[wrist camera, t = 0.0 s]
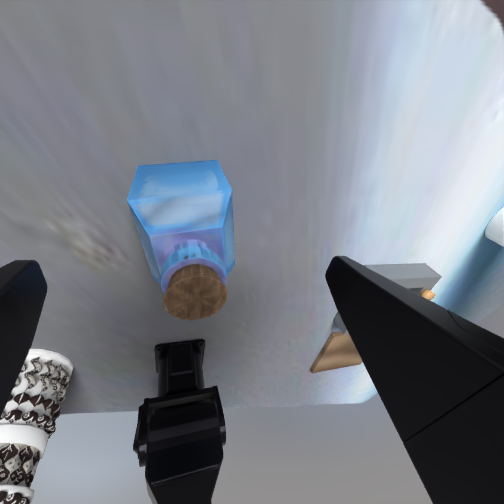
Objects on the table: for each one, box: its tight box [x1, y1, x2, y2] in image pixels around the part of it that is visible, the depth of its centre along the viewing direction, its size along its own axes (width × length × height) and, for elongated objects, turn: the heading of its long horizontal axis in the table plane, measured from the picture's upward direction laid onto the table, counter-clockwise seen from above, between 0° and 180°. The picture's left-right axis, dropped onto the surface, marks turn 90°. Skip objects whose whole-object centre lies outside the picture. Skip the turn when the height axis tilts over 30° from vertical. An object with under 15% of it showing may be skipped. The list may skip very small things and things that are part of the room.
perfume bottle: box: [127, 160, 235, 320], centre depth 17 cm, size 6×6×12 cm
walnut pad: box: [310, 332, 362, 373], centre depth 48 cm, size 12×12×1 cm
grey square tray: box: [334, 263, 442, 335], centre depth 37 cm, size 12×12×4 cm
